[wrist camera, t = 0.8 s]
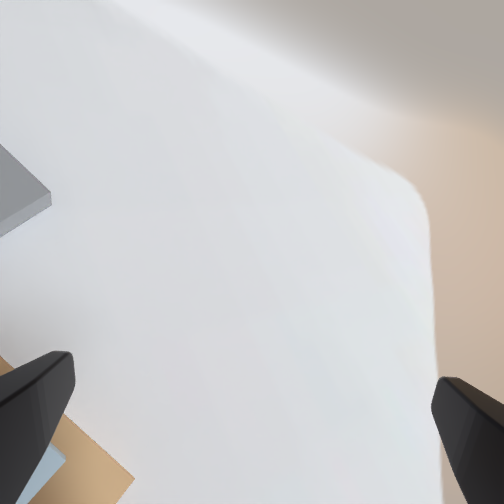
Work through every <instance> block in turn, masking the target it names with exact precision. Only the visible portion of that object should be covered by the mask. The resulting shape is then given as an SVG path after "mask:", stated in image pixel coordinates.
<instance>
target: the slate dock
mask: <svg viewBox="0 0 504 504" xmlns="http://www.w3.org/2000/svg"><path fill="white" fill-rule="evenodd" d="M51 205H52V204H51V192H50V191H49V190H48V189H47V188H46V187H45V186H44V185H43V184H42V183H41V182H40V181H39V180H38V179H37V178H36V177H35V176H33V175H32V174H31V173H30V172H29V171H28V170H27V169H26V168H25V167H24V166H23V165H22V164H21V163H20V162H19V161H18V160H17V159H16V158H14V157H13V156H12V155H11V154H10V153H9V152H8V151H7V150H6V149H5V148H4V147H3V146H2V145H1V144H0V237H2V236H3V235H5V234H6V233H8V232H9V231H11V230H13V229H14V228H16V227H17V226H19V225H21V224H22V223H24V222H25V221H27V220H28V219H30V218H32V217H33V216H35V215H36V214H38V213H40V212H41V211H43V210H44V209H46V208H47V207H49V206H51Z"/></svg>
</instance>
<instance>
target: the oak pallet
mask: <svg viewBox="0 0 504 504" xmlns="http://www.w3.org/2000/svg"><path fill="white" fill-rule="evenodd" d="M12 370H14V368H13V367H12V366H11V365H9V364H8V363H7V362H6V361H5V360H4V359H3V358H2V357H1V356H0V376H1V375H3V374H6V373H8V372H10V371H12ZM50 442H51V443H52V444H53V445H54V446H55V447H57V448H58V449H59V450H60V451H61V452H62V453H63V454H64V455H65V456H66V461H65V462H64V463H63V465H62V466H61V467H60V468H59V469H58V470H57V471H56V472H55V473H54V475H53V476H52V477H51V478H50V479H49V480H48V481H47V482H46V483H45V485H44V486H43V487H42V488H41V489H40V490H39V491H38V492H37V493H36V495H35V496H34V497H33V498H32V499H31V500H30V501H29V502H28V503H27V504H116V503H117V501H118V500H119V499H120V498H121V496H122V495H123V494H124V492H125V491H126V490H127V488H128V487H129V486H130V484H131V483H132V482H133V481H134V479H135V478H134V477H133V476H132V475H131V474H130V473H129V472H128V471H127V470H126V469H124V468H123V467H122V466H121V465H120V464H119V463H118V462H117V461H116V460H114V459H113V458H112V457H111V456H110V455H109V454H108V453H107V452H106V451H105V450H103V449H102V448H101V447H100V446H99V445H98V444H97V443H96V442H95V441H93V440H92V439H91V438H90V437H89V436H88V435H87V434H86V433H85V432H84V431H82V430H81V429H80V428H79V427H78V426H77V425H76V424H75V423H74V422H72V421H71V420H70V419H69V418H68V417H67V416H66V415H65V414H64V413H63V415H62V417H61V419H60V421H59V424H58V426H57V428H56V430H55V433H54V435H53V437H52V439H51V441H50Z"/></svg>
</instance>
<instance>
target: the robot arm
mask: <svg viewBox="0 0 504 504" xmlns="http://www.w3.org/2000/svg"><path fill="white" fill-rule="evenodd" d="M74 387H75V371H74V361H73V355H72V354H71V353H70V352H67V351H52V352H50V353H48V354H46V355H43V356H41V357H39V358H37V359H35V360H33V361H31V362H29V363H27V364H24V365H22V366H20V367H18V368H16V369H14V370H12V371H10V372H8V373H6V374H3V375H1V376H0V504H16V502H17V500H18V499H19V497H20V495H21V493H22V492H23V490H24V488H25V487H26V485H27V483H28V481H29V480H30V478H31V476H32V474H33V473H34V471H35V469H36V468H37V466H38V464H39V462H40V461H41V459H42V457H43V455H44V453H45V452H46V450H47V448H48V445H49V443H50V441H51V439H52V437H53V435H54V433H55V430H56V428H57V426H58V424H59V421H60V419H61V417H62V415H63V413H64V410H65V408H66V406H67V404H68V401H69V399H70V397H71V395H72V393H73V390H74ZM431 411H432V415H433V418H434V420H435V423H436V426H437V429H438V431H439V434H440V437H441V440H442V443H443V445H444V448H445V451H446V454H447V456H448V459H449V462H450V465H451V467H452V470H453V472H454V475H455V477H456V479H457V482H458V484H459V486H460V488H461V490H462V493H463V495H464V496H465V499H466V501H467V503H468V504H504V404H502V403H500V402H498V401H497V400H495V399H493V398H492V397H490V396H488V395H487V394H485V393H483V392H482V391H480V390H478V389H477V388H475V387H473V386H472V385H470V384H468V383H467V382H465V381H463V380H461V379H460V378H457V377H441V378H439V380H438V382H437V385H436V389H435V392H434V396H433V399H432V403H431Z"/></svg>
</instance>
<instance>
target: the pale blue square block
mask: <svg viewBox="0 0 504 504" xmlns="http://www.w3.org/2000/svg"><path fill="white" fill-rule="evenodd" d="M65 461H66V456H65V455H64V454H63V453H62V452H61V451H60V450H59V449H58V448H57V447H55V446H54V445H53V444H52V443H51V442H50V443H49V445H48V448H47V450H46V452H45V453H44V455H43V457H42V459H41V461H40V462H39V464H38V466H37V468H36V469H35V471H34V473H33V474H32V476H31V478H30V480H29V481H28V483H27V485H26V487H25V488H24V490H23V492H22V493H21V495H20V497H19V499H18V500H17V502H16V504H27V503H28V502H29V501H30V500H31V499H32V498H33V497H34V496H35V495H36V493H37V492H38V491H39V490H40V489H41V488H42V487H43V486H44V485H45V483H46V482H47V481H48V480H49V479H50V478H51V477H52V476H53V475H54V473H55V472H56V471H57V470H58V469H59V468H60V467H61V466H62V465H63V463H64V462H65Z"/></svg>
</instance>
